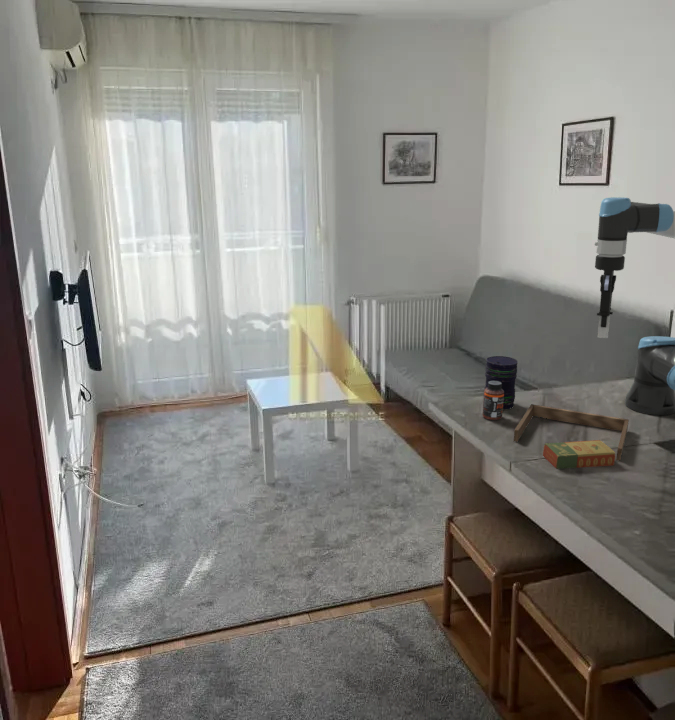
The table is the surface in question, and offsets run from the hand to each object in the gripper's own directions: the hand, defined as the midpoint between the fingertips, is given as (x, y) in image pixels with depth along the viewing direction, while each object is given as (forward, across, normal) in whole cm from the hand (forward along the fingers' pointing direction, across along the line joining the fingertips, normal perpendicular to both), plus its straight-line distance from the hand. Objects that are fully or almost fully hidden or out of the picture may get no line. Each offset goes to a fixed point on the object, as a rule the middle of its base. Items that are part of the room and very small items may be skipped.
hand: (602, 337), depth 194 cm
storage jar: (+27, -5, -30) cm, 40 cm away
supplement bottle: (+27, +7, -29) cm, 40 cm away
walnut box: (+27, +11, -5) cm, 30 cm away
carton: (+28, +28, -2) cm, 39 cm away
